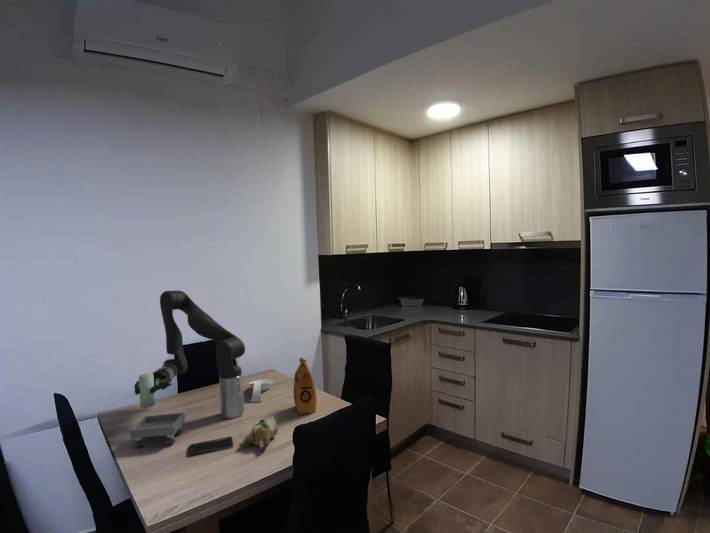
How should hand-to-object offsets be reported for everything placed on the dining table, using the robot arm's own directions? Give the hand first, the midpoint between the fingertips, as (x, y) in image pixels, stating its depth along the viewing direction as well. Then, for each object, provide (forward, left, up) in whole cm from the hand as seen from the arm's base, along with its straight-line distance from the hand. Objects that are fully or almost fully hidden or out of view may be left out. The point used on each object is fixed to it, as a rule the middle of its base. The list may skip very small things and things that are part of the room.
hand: (144, 391), depth 144 cm
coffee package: (-61, -14, -18) cm, 66 cm away
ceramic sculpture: (-46, +13, -18) cm, 51 cm away
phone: (-27, +13, -19) cm, 35 cm away
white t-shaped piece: (-38, -39, -18) cm, 58 cm away
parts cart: (-6, +4, -18) cm, 19 cm away
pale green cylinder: (0, -3, -6) cm, 7 cm away
